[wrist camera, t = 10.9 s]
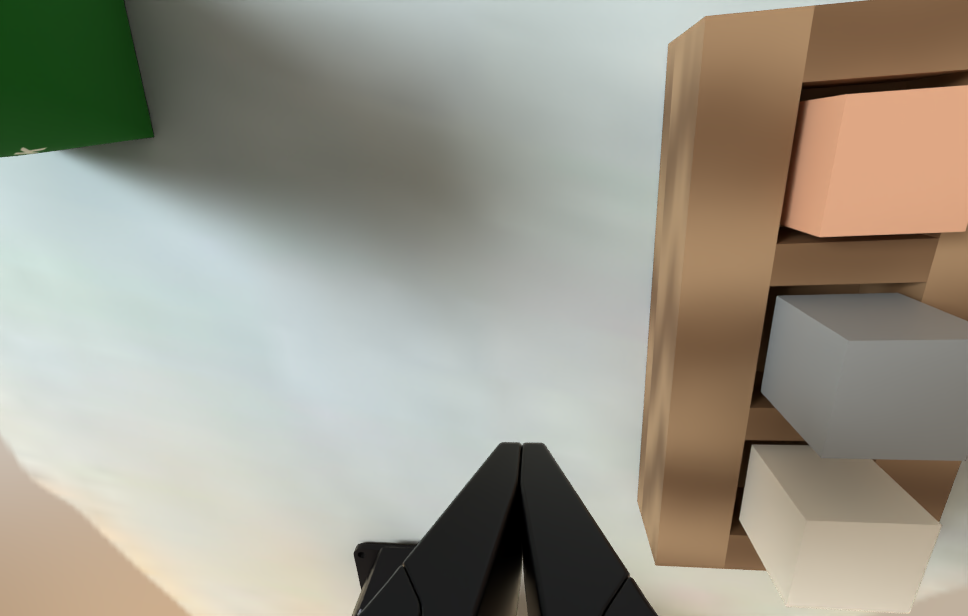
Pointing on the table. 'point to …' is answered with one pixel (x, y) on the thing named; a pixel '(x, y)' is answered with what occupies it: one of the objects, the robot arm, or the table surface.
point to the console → (768, 249)
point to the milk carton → (68, 76)
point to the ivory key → (835, 530)
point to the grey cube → (870, 376)
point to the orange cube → (880, 164)
